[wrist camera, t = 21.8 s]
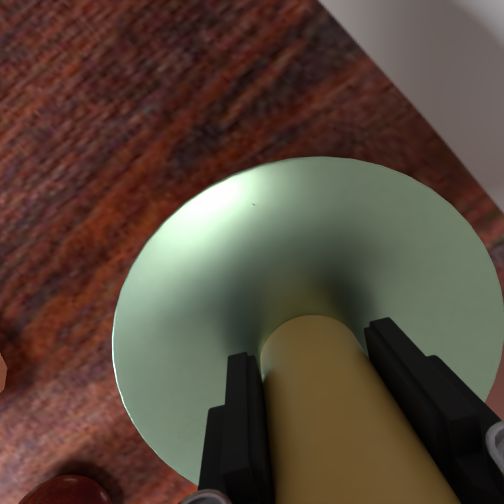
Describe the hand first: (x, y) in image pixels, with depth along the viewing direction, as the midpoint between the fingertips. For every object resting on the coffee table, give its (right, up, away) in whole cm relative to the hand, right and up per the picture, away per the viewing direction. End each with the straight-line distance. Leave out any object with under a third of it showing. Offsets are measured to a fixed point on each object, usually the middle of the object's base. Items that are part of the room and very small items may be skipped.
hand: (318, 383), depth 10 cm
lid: (0, 0, +2) cm, 2 cm away
